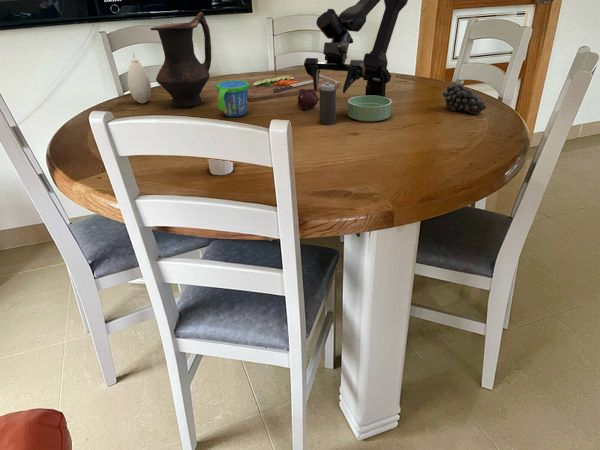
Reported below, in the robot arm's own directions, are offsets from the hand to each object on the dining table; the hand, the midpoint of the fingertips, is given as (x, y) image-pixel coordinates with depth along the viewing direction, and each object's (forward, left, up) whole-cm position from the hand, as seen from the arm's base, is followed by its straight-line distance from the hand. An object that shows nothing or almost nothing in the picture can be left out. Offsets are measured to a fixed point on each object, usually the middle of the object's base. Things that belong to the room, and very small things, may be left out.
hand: (329, 91), depth 142 cm
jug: (+34, -43, -9) cm, 56 cm away
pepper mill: (+1, +1, -9) cm, 10 cm away
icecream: (0, -15, -9) cm, 18 cm away
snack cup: (+24, -22, -9) cm, 34 cm away
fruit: (-43, +14, -9) cm, 46 cm away
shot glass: (+43, +22, -9) cm, 49 cm away
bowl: (-14, +2, -9) cm, 17 cm away
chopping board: (-5, -48, -9) cm, 49 cm away
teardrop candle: (+49, -54, -9) cm, 73 cm away
